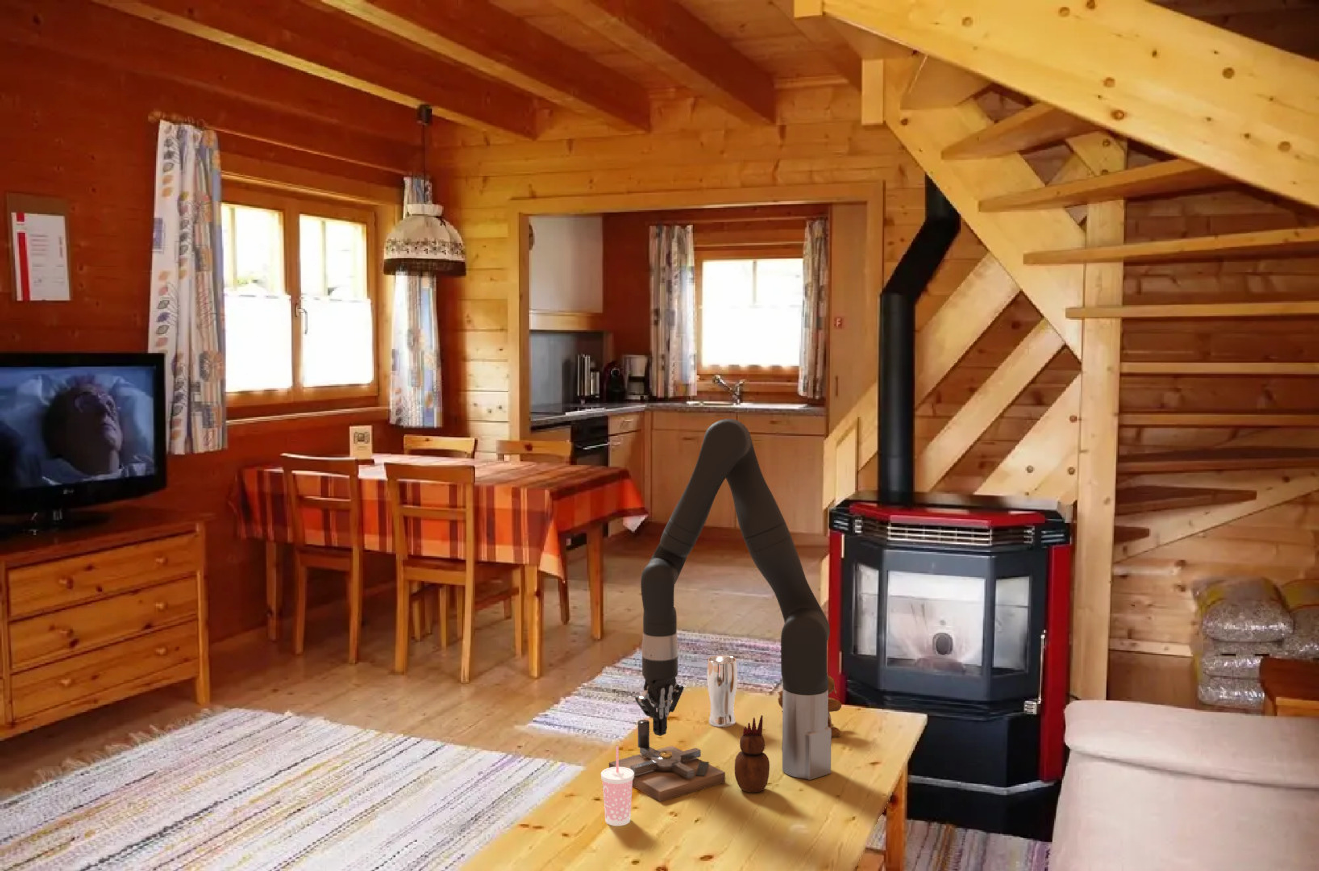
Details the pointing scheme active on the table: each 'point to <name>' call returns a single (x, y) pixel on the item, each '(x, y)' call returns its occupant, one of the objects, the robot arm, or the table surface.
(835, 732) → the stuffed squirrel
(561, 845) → the table surface
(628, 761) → the stand
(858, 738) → the table surface
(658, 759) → the capstan
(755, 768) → the wooden figurine
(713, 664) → the beer glass
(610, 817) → the beverage cup
